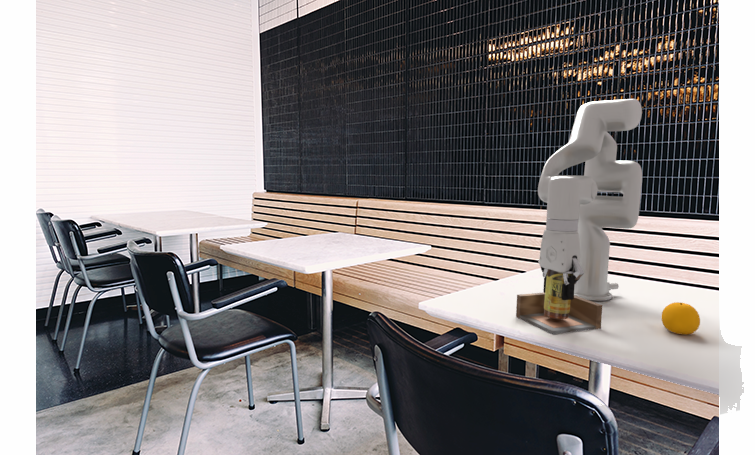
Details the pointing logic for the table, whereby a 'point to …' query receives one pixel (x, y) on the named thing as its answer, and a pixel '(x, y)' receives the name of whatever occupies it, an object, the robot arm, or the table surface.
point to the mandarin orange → (680, 318)
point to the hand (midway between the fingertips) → (558, 295)
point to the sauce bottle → (555, 297)
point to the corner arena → (579, 319)
